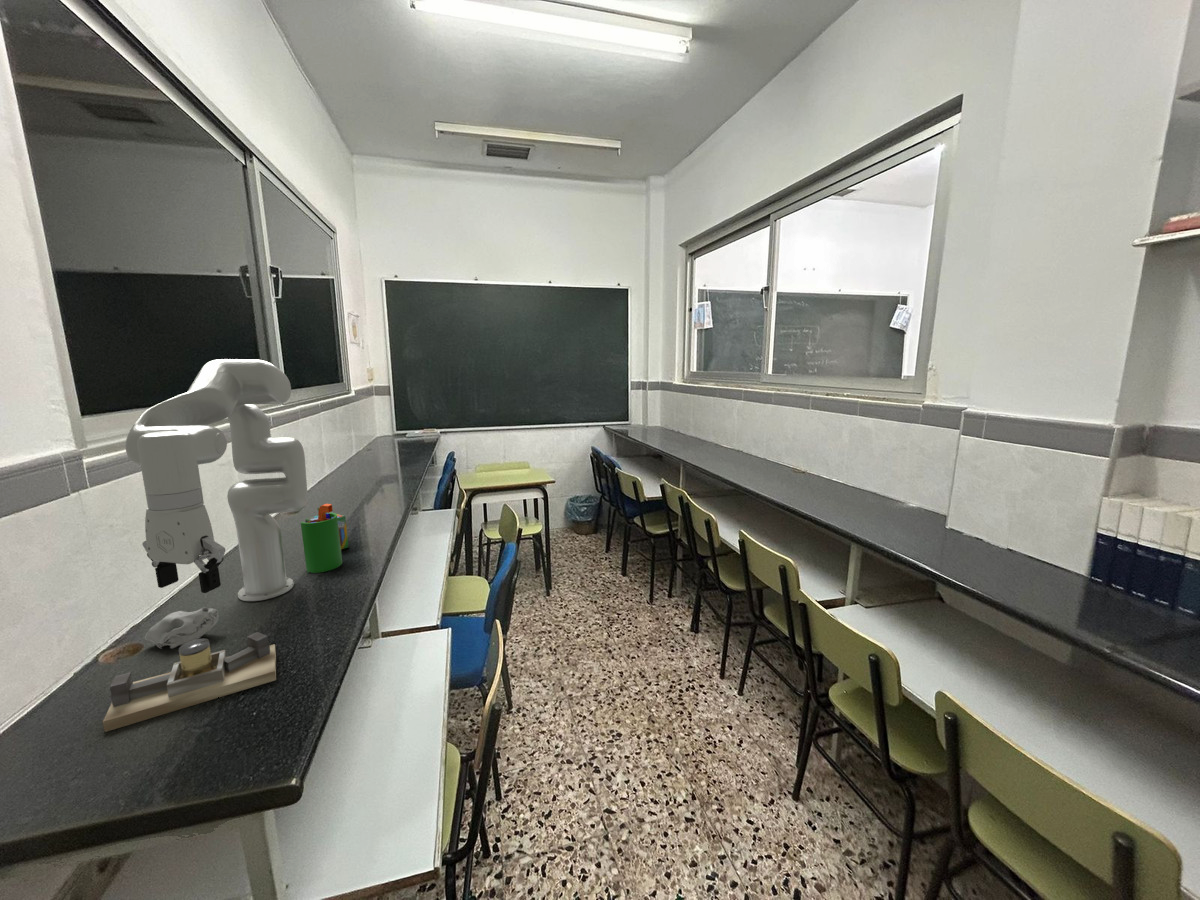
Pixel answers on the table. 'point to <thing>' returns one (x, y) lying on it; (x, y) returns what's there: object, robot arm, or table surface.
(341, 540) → the chalk box
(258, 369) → the robot arm
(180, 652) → the gold cylinder
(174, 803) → the table surface
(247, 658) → the stand
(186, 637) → the skull
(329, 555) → the green cylindrical cup
